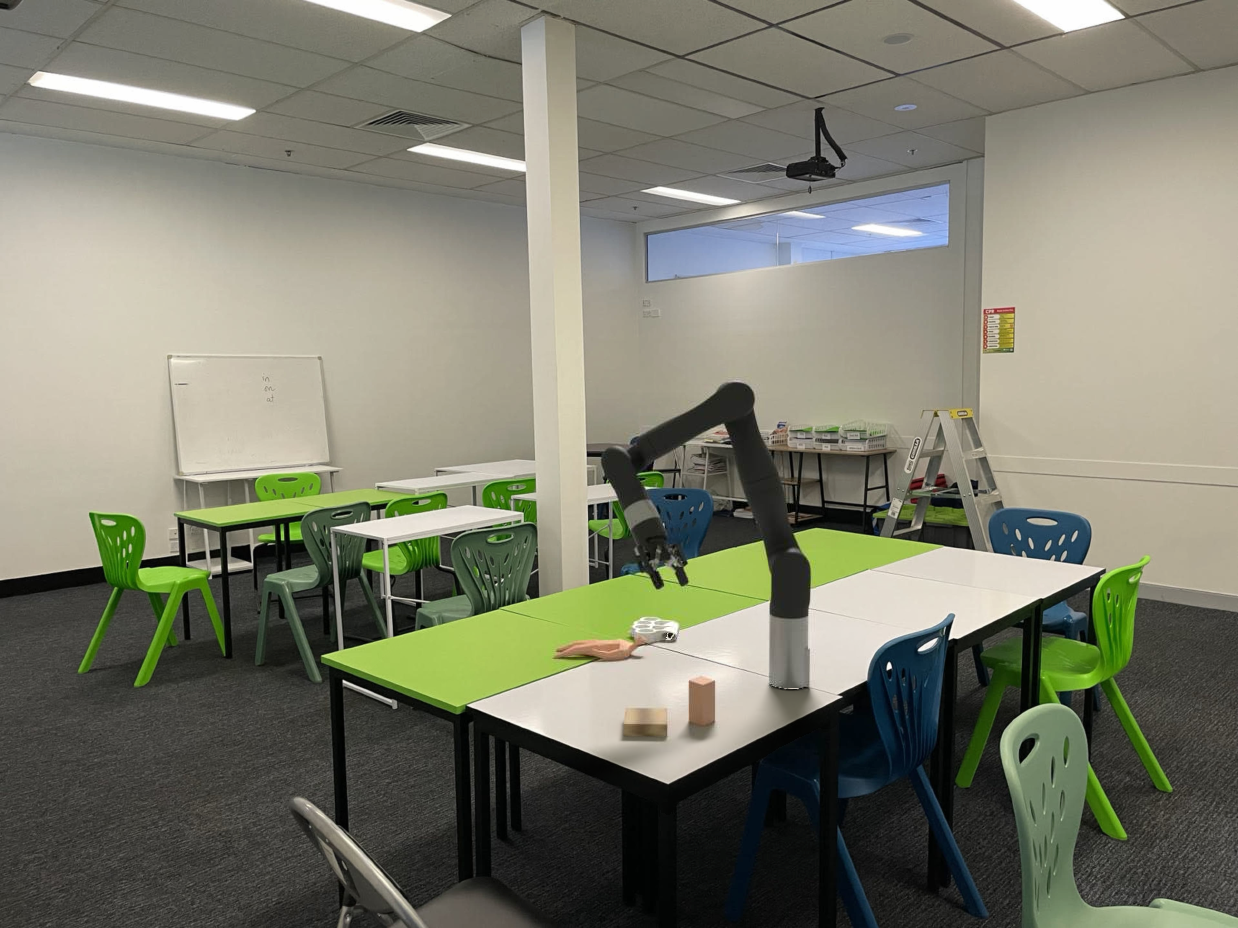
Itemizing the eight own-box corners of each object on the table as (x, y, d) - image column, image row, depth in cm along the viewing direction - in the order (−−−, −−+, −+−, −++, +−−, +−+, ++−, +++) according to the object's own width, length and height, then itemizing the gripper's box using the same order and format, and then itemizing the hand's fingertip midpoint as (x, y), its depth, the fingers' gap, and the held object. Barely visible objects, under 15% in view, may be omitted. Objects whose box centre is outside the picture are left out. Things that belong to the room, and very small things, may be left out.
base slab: (667, 721, 187) (667, 708, 187) (667, 738, 178) (667, 724, 178) (625, 721, 188) (625, 708, 188) (623, 737, 179) (623, 723, 179)
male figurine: (556, 637, 240) (646, 630, 239) (558, 655, 241) (648, 648, 239) (551, 649, 229) (645, 641, 228) (553, 667, 230) (647, 660, 228)
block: (701, 716, 189) (701, 676, 189) (715, 721, 186) (715, 680, 186) (688, 721, 187) (688, 680, 186) (702, 726, 184) (702, 684, 183)
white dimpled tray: (675, 645, 243) (623, 644, 245) (680, 628, 261) (631, 627, 263) (675, 634, 243) (623, 632, 245) (679, 617, 260) (631, 616, 262)
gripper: (634, 516, 194) (663, 581, 187) (675, 514, 204) (704, 576, 198) (613, 533, 198) (641, 597, 192) (654, 530, 208) (682, 591, 202)
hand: (673, 586), depth 195 cm, fingers open, 8 cm apart
